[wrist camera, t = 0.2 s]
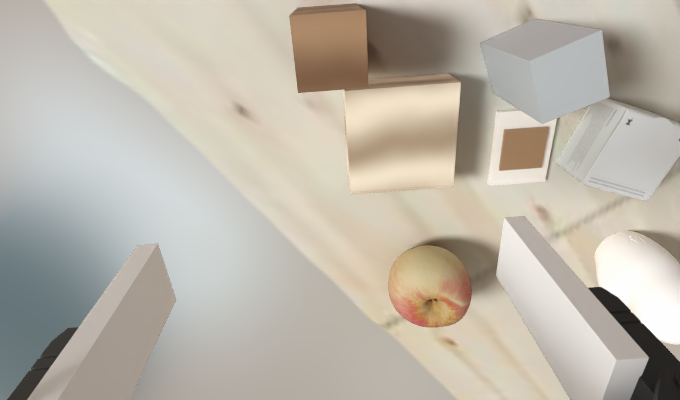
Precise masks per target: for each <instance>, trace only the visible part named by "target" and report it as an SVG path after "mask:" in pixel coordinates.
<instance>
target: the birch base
mask: <svg viewBox="0 0 680 400" xmlns="http://www.w3.org/2000/svg"><path fill="white" fill-rule="evenodd" d="M368 87H369V88H355V89H343V98H344V114H345V130H346V147H347V163H348V178H349V186H350V193H351V195H352V194H365V193H378V192H392V191H405V190H418V189H431V188H444V187H453V184H454V170H455V157H456V143H457V130H458V116H459V103H460V89H461V82H460V81H459V80H457V79H456V78H454V77H453V76H451V75H450V74H449V73H445V74H431V75H418V76H404V77H391V78H378V79H368Z"/></svg>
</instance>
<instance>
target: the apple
mask: <svg viewBox="0 0 680 400" xmlns="http://www.w3.org/2000/svg"><path fill="white" fill-rule="evenodd" d="M388 289H389V296H390V299H391V302H392V304H393V306H394V307H395V309H396V310H397V311H398V313H399V314H400V315H401V316H403V317H404V318H405V319H406V320H408V321H410V322H411V323H413V324H416V325H418V326H422V327H443V326H449V325H452V324H455V323H456V322H458V321H459V320H460V319H462V317H463V316H464V315H465V314H466V312H467V310H468V308H469V305H470V301H471V295H472V289H471V283H470V278H469V276H468V273H467V271H466V269H465V267H464V265H463V264H462V262H461V261H460V260H459V259H458V258H457V257H456V256H455V255H454V254H453V253H452V252H450V251H448V250H446V249H444V248H441V247H438V246H431V245H425V246H418V247H415V248H412V249H410V250H407V251H406V252H404V253H403V254H402V255H401V256H399V257H398V258H397V260H396V261H395V262H394V264H393V266H392V268H391V271H390V274H389V281H388Z"/></svg>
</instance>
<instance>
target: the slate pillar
mask: <svg viewBox="0 0 680 400" xmlns="http://www.w3.org/2000/svg"><path fill="white" fill-rule="evenodd" d="M480 44H481V48H482V52H483V56H484V60H485V64H486V68H487V72H488V76H489V79H490V83H491V87H492V91H493V93H494V94H495V95H497V96H498V97H500V98H502V99H503V100H505V101H506V102H508V103H509V104H511V105H513V106H514V107H516V108H517V109H519V110H520V111H522V112H524V113H525V114H527V115H528V116H530V117H531V118H533V119H535V120H536V121H538V122H539V123H541V124H544V123H547V122H549V121H552V120H554V119H557V118H559V117H562V116H564V115H567V114H569V113H572V112H574V111H577V110H579V109H581V108H584V107H586V106H589V105H591V104H594V103H596V102H599V101H601V100H604V99H606V98H609V97H610V93H609V85H608V76H607V68H606V60H605V51H604V43H603V34H602V30H601V29H594V28H588V27H582V26H576V25H570V24H564V23H557V22H551V21H545V20H539V19H532V20H530V21H528V22H526V23H524V24H521V25H519V26H517V27H515V28H512V29H510V30H508V31H506V32H503V33H501V34H499V35H497V36H494V37H492V38H490V39H488V40H485V41H483V42H481V43H480Z"/></svg>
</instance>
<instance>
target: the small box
mask: <svg viewBox="0 0 680 400" xmlns="http://www.w3.org/2000/svg"><path fill="white" fill-rule="evenodd" d="M679 157H680V123H678V122H675V121H673V120H670V119H668V118H665V117H663V116H660V115H658V114H655V113H652V112H649V111H646V110H643V109H640V108H637V107H634V106H631V105H628V104H624V103H621V102H618V101H615V100H611V99H608V98H606V99H604V100H601V101H599V102H596V103H594V104H591V105H589V107H588V109H587V111H586V112H585V114H584V116H583V117H582V119H581V121H580V122H579V124H578V126H577V128H576V129H575V131H574V133H573V134H572V136H571V138H570V140H569V141H568V143H567V145H566V146H565V148H564V150H563V152H562V153H561V155H560V157H559V158H558V160H557V162H556V163H557V164H558V165H559V166H560V167H562V168H563V169H564V170H565V171H567V172H568V173H569V174H570V175H572V176H573V177H574V178H576V179H577V180H578V181H580V182H581V183H582V184H584V185H587V186H590V187H594V188H597V189H601V190H605V191H609V192H612V193H617V194H620V195H624V196H628V197H632V198H635V199H639V200H643V201H647V200H648V199H649V198H650V197H651V195H652V194H653V193H654V191H655V190H656V189H657V187H658V186H659V184H660V183H661V182H662V180H663V179H664V177H665V176H666V175H667V173H668V172H669V170H670V169H671V168H672V166H673V165H674V163H675V162H676V161H677V159H678V158H679Z"/></svg>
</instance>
